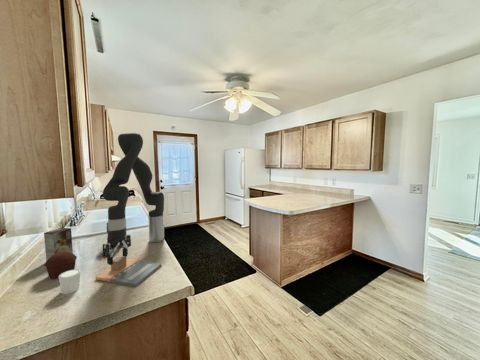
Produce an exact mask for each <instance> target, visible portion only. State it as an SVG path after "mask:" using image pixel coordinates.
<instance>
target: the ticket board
mask: <svg viewBox="0 0 480 360" xmlns="http://www.w3.org/2000/svg"><path fill="white" fill-rule="evenodd" d="M161 267H162V263H159V262H152V261H145V260H139V261H138V262H137V263H135V264H134V265H132V266H131V267H129V268H128V269H126V270H124V271H123V272H121V273H120V274H118V275H117V276H115V277H114V278H112V279H111V280H110V282H109V283H112V284H117V285H124V286H129V287H135V288H137V286H139V285H140V284H142V282H143V281H145V280H146V279H147V278H148V277H150V276H151V275H152V274H154V273H155V272H156V271H157V270H159V268H161Z"/></svg>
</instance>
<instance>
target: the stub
mask: <svg viewBox="0 0 480 360" xmlns="http://www.w3.org/2000/svg"><path fill="white" fill-rule="evenodd" d="M138 261H140V260H139V259H133V258H127V256H126V257H123V256H121V255H120V256H119V255H118V256H117V257H115V258H113V264H112V265H110V268H108V269H106V270H104V271H103V272H102V273H101V272H100V273H99V274H98V275H96V276H95V280H97V281H103V282H109V283H111V282H110V280H111V279H112V278H114V277H115V276H117V275H118V274H120V273H121V272H123V271H124V270H126V269H128V268H129V267H131V266H132V265H134V264H135V263H137V262H138Z"/></svg>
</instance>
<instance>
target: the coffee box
mask: <svg viewBox="0 0 480 360" xmlns="http://www.w3.org/2000/svg"><path fill="white" fill-rule="evenodd" d="M72 236H73V235H72V228H71V227H60V228H56V229H53V230H49V231H46V232H43V238H44V248H45V250H44V251H45V262H46V261H47V260H48V258H50V257H51V256H52V255H54V254H56V253H59V252H70V253H73V254H74V250H73V237H72Z"/></svg>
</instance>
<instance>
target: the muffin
mask: <svg viewBox="0 0 480 360" xmlns="http://www.w3.org/2000/svg"><path fill="white" fill-rule="evenodd" d="M76 261H77V255H75V254H74V252H73V253H70V252H59V253H56V254H54V255H52V256H51V257H50V258H48V260H47V261H46V260H45V262H44V265H43V266H44V267H45V268H46V271H47V275H48V279H49V280H59V275H60V274H62V273H64V272H66V271H69V270H73V269H76V268H75V267H76Z"/></svg>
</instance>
